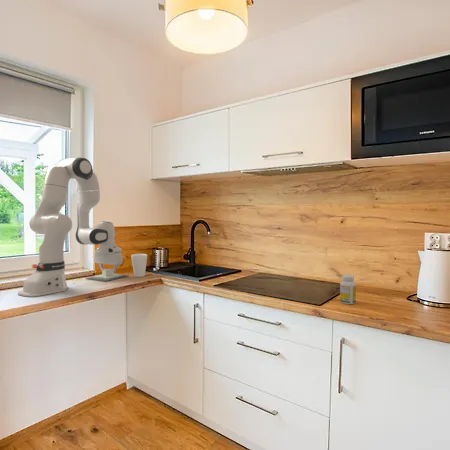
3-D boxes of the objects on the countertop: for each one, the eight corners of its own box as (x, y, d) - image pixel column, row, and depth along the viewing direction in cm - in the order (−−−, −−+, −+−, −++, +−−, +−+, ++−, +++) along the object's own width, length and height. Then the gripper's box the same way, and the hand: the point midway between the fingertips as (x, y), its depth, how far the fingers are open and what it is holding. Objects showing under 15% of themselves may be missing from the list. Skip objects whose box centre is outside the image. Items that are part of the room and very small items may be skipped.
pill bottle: (354, 301, 148) (355, 275, 148) (356, 305, 142) (357, 277, 142) (339, 300, 150) (339, 274, 150) (340, 304, 144) (340, 277, 143)
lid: (107, 279, 193) (107, 272, 193) (92, 277, 199) (92, 270, 199) (122, 275, 204) (122, 268, 204) (108, 274, 209) (108, 267, 209)
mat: (105, 281, 190) (105, 280, 190) (86, 279, 197) (86, 278, 197) (128, 276, 205) (128, 275, 205) (109, 273, 213) (109, 273, 213)
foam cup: (130, 275, 209) (130, 254, 208) (145, 273, 213) (145, 253, 212) (133, 277, 200) (132, 256, 200) (148, 276, 204) (148, 255, 204)
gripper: (91, 248, 203) (91, 270, 204) (115, 250, 193) (116, 273, 194) (99, 247, 208) (100, 269, 209) (124, 248, 199) (124, 271, 200)
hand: (108, 271), depth 202 cm, fingers open, 8 cm apart
